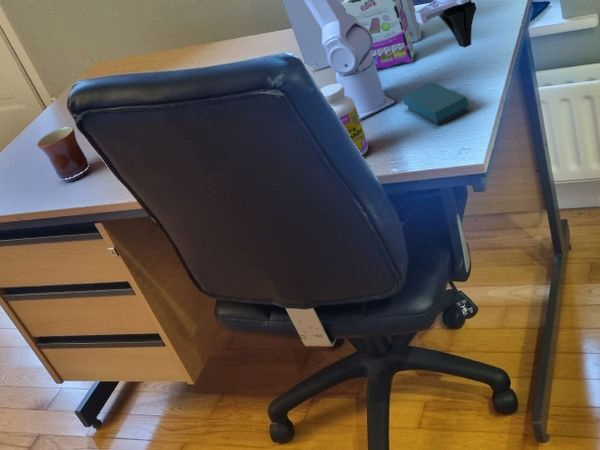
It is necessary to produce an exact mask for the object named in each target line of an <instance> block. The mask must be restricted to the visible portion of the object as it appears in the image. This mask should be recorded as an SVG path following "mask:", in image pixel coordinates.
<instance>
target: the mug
mask: <svg viewBox="0 0 600 450" xmlns="http://www.w3.org/2000/svg"><path fill="white" fill-rule="evenodd" d="M75 132H76V131H75V128H74V127H73V126H64V127H60V128H58V129H55V130H53V131H51V132H49V133H47V134H45V135H44V136H43V137H41V138H40V139H39V140H38V141H37V143H36V146H37V147H38V149H40V150H41V152H43V153H44V154H45V155H46V157H47V158H48V160H49V162H50V164H51V166H52V168H53V170H54V171H55V173H56V175H57V176H58V178H59V179H60V178H61V179H60V180H61V181H62V182H64V183H71V182H75V181H77V180H79V179H81V178H83V177H84V176H86V174H87V173H88V172H89V170H90V166H89V167H88V164H89V161H88V158H87V156H86V154H85V153H84V151H83V150H82V148H81V146H80V145H79V142H78V140H77V136H76V133H75ZM87 167H88V169H87V170H86V171H84V170H85V169H86V168H87ZM82 171H84V172H83V173H82V174H80V175H78V176H76V177H74V178H71V179H68V180H62V179H65V178H69V177H73V176H74V175H76V174H79V173H80V172H82Z"/></svg>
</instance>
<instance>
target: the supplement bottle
mask: <svg viewBox="0 0 600 450" xmlns="http://www.w3.org/2000/svg"><path fill="white" fill-rule="evenodd" d="M319 90H321V92H322V93H323V95H324V96H325V98H326V99H327V101H328V102H329V104H330V105H331V107H332V108H333V109H334V111H335V112H336V114H337V115H338V117H339V118H340V120H341V121H342V123H343V125H344V126H345V128H346V129H347V131H348V133H349V135H350V137H351V139H352V140H353V142H354V143H355V145H356V146H357V147H358V149H359V150H360V152H361V153H362V155H363V156H364V155H365V154H366V153H367V152H368V150H369V144H368V141H367V138H366V135H365V131H364V129H363V126H362V123H361V120H360V119H359V116H358V113H357V110H356V106H355V103H354V101H353V100H352V99H351V98H350V97H347V96H345V95H344V94H345V90H344V88H343V85H342V84H337V83H332V84H328V85H325V86H324V87H322V88H320V89H319Z"/></svg>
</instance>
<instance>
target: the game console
mask: <svg viewBox="0 0 600 450" xmlns="http://www.w3.org/2000/svg"><path fill="white" fill-rule="evenodd" d="M281 1H282V3H283V6H284V9H285V12H286V15H287V18H288V20H289V23H290V26H291V28H292V32H293V34H294V37H295V40H296V43H297V45H298V48H299V51H300V54H301V56H302V59H303V62H304V65H307V66H309V67H311V68H312V67H313V66H316V67H313V69H314V70H321V69H325V68H329V67H331V66H330V65H329V63H328V59H327V52H326V50H325V48H324V47H323V45H322V28H321V27H320V25H319V24H318V22H317V20H316V19H315V17H314V16H313V14H312V12H311V11H310V9H309V7H308V6H307V4H306V3H305V1H304V0H281ZM339 2H340V3H341V5H342V2H343V0H339ZM400 4H401V7H402V10H403V14H404V17H405V21H406V24H407V28H408V31H409V34H410V38H411V41H412V43H415V42H418V41H420V40H421V39H422V30H421V26H420V23H418V22H417V19H416V15H415V12H417V10H416V8H415V4H414V0H400ZM318 65H319V66H318Z"/></svg>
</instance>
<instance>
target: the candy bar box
mask: <svg viewBox="0 0 600 450" xmlns="http://www.w3.org/2000/svg"><path fill="white" fill-rule="evenodd" d="M342 7H343V8H344V10H345V12H346V13H348V14H351V15H353V16H355V17H356V18H357V20H358V22H359V23H360V24H361V25H362V26H364V27H365V28H367V29H368V30H369V32H370V33H371V35H372V38H373V45H372V48H371V49H370V52H371V55H372V57H373V59H374V62H375V66H376V69H377V71H380V70H384V69H389V68H393V67H397V66H402V65H405V64H409V63H412V62H414V61H413V60H414V57H415V54H416V52H415V48H414V45H413V42H412V41H411V38H410V34H409V31H408V28H407V24H406V21H405V17H404V14H403V10H402V7H401V4H400V0H343V2H342Z"/></svg>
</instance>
